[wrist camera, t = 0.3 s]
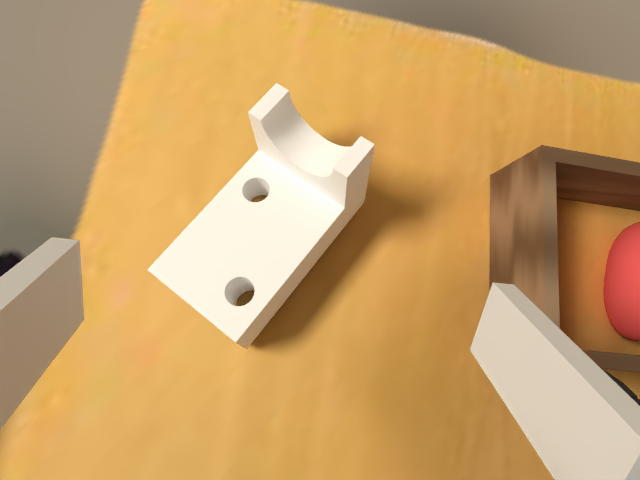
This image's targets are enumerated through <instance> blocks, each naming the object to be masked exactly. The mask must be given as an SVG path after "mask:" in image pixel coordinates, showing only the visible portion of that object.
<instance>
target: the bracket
mask: <svg viewBox="0 0 640 480" xmlns="http://www.w3.org/2000/svg"><path fill="white" fill-rule="evenodd" d="M248 114H249V117H250V121H251V125H252V128H253V132H254V135H255V139H256V142H257V146H258V151H257V152H256V153H255V154H254V155H253V156H252V158H251V159H250V160H249V161H248V162H247V163H246V164H245V165H244V166H243V167H242V168H241V169H240V170H239V172H238V173H237V174H236V175H235V176H234V177H233V178H232V179H231V180H230V181H229V182H228V183H227V184H226V186H225V187H224V188H223V189H222V190H221V191H220V192H219V193H218V194H217V195H216V196H215V197H214V199H213V200H212V201H211V202H210V203H209V204H208V205H207V206H206V207H205V208H204V209H203V210H202V211H201V213H200V214H199V215H198V216H197V217H196V218H195V219H194V220H193V221H192V222H191V223H190V224H189V225H188V227H187V228H186V229H185V230H184V231H183V232H182V233H181V234H180V235H179V236H178V237H177V238H176V239H175V241H174V242H173V243H172V244H171V245H170V246H169V247H168V248H167V249H166V250H165V251H164V252H163V253H162V255H161V256H160V257H159V258H158V259H157V260H156V261H155V262H154V263H153V264H152V265H151V266H150V267H149V269H148V271H149V272H151V273H152V274H153V275H154V276H156V277H157V278H158V279H159V280H160V281H162V282H163V283H164V284H165V285H166V286H168V287H169V288H170V289H171V290H173V291H174V292H175V293H176V294H177V295H179V296H180V297H181V298H182V299H183V300H185V301H186V302H187V303H188V304H190V305H191V306H192V307H193V308H194V309H196V310H197V311H198V312H199V313H200V314H202V315H203V316H204V317H205V318H207V319H208V320H209V321H210V322H211V323H213V324H214V325H215V326H216V327H217V328H219V329H220V330H221V331H222V332H224V333H225V334H226V335H227V336H228V337H230V338H231V339H232V340H233V341H234V342H236V343H237V344H239V345H241V346H242V347H244V348H246V349H247V348H248V347H249V346H250V345H251V343H252V342H253V341H254V340H255V338H256V337H257V336H258V335H259V333H260V332H261V331H262V330H263V328H264V327H265V326H266V325H267V323H268V322H269V321H270V320H271V318H272V317H273V316H274V315H275V313H276V312H277V311H278V310H279V308H280V307H281V306H282V305H283V303H284V302H285V301H286V300H287V298H288V297H289V296H290V295H291V293H292V292H293V291H294V290H295V288H296V287H297V286H298V285H299V283H300V282H301V281H302V280H303V278H304V277H305V276H306V274H307V273H308V272H309V271H310V269H311V268H312V267H313V266H314V264H315V263H316V262H317V261H318V259H319V258H320V257H321V256H322V254H323V253H324V252H325V251H326V249H327V248H328V247H329V246H330V244H331V243H332V242H333V241H334V239H335V238H336V237H337V236H338V234H339V233H340V232H341V231H342V229H343V228H344V227H345V226H346V224H347V223H348V222H349V221H350V219H351V218H352V217H353V216H354V214H355V213H356V212H357V211H358V209H359V208H360V207H361V206H362V204H363V203H364V200H365V195H366V189H367V184H368V178H369V173H370V167H371V162H372V156H373V151H374V145H375V144H373V143H371V142H370V141H368V140H367V139H365V138H363V137H362V136H360V137H359V139H358V140H357V141H356V142H355V143H354V145H353V146H351V147H345V146H340V145H337V144H334V143H332V142H330V141H328V140H326V139H325V138H323V137H322V136H320V135H319V134H318V133H317V132H315V131H314V130H313V129H312V128H311V127H310V126H309V125H308V124H307V123H306V122H305V121H304V120H303V118H302V117H301V116H300V114H299V113H298V111H297V110H296V108H295V106H294V105H293V102H292V100H291V97H290V94H289V91H288V90H287V89H285V88H284V87H282V86H281V85H279V84H277V83H276V84H275V85H274V86H273V87H272V88H271V89H270V90H269V91H268V92H267V93H266V94H265V95H264V96H263V98H262V99H261V100H260V101H259V102H258V103H257V104H256V105H255V106H254V107H253V108H252V109H251V110H250V111H249V112H248ZM260 195H265V196H267V197H266V198H265V199H264V200H262V201H260V202H251V201H252V199H253V198H255V197H257V196H260ZM246 291H255V292H254V296H253V298H252V300H251V301H250V302H249V303H247V304H246V305H243V306H237V300H238V298H239V296H240V295H241V294H242V293H244V292H246Z"/></svg>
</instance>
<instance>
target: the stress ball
mask: <svg viewBox="0 0 640 480" xmlns="http://www.w3.org/2000/svg"><path fill="white" fill-rule="evenodd" d="M604 303H605V308H606V312H607V315H608V317H609V319H610V322H611V324H612V325H613V326H614V328H615V329H616V331H617V332H618V333H619V334H621V335H622V336H624V337H626V338H628V339H631V340H635V341H640V222H638V223H635V224H633V225H631V226H629V227H627V228H625V229H624V230H623V231H622V232H621V233H620V234H619V236H618V237H617V238H616V239H615V241H614V243H613V245H612V247H611V249H610V252H609V256H608V260H607V265H606V272H605V278H604Z"/></svg>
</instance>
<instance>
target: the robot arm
mask: <svg viewBox="0 0 640 480" xmlns="http://www.w3.org/2000/svg"><path fill="white" fill-rule="evenodd" d="M83 320H84V309H83V292H82V275H81V258H80V242H79V240H72V239H62V238H51V239H49V240H48V241H47V242H45V243H44V244H43V245H41V246H40V247H39V248H37V249H36V250H35V251H34V252H32V253H31V254H30V255H28V256H27V257H26V258H24V259H23V260H22V261H21V262H19V263H18V264H17V265H15V266H14V267H13V268H12V269H10V270H9V271H8V272H6V273H5V274H4V275H2V276H1V277H0V429H1V428H2V427H3V425H4V424H5V423H6V422H7V420H8V419H9V418H10V416H11V415H12V414H13V412H14V411H15V410H16V408H17V407H18V406H19V404H20V403H21V402H22V400H23V399H24V398H25V397H26V395H27V394H28V393H29V391H30V390H31V389H32V387H33V386H34V385H35V383H36V382H37V381H38V379H39V378H40V377H41V375H42V374H43V373H44V372H45V370H46V369H47V368H48V366H49V365H50V364H51V362H52V361H53V360H54V358H55V357H56V356H57V354H58V353H59V352H60V350H61V349H62V348H63V347H64V345H65V344H66V343H67V341H68V340H69V339H70V337H71V336H72V335H73V333H74V332H75V331H76V329H77V328H78V327H79V325H80V324H81V323H82V322H83ZM470 351H471V352H472V354H473V355H474V357H475V358H476V360H477V361H478V363H479V365H480V366H481V368H482V369H483V371H484V372H485V374H486V375H487V377H488V378H489V380H490V381H491V383H492V384H493V386H494V388H495V389H496V391H497V392H498V394H499V395H500V397H501V398H502V400H503V401H504V403H505V404H506V406H507V408H508V409H509V411H510V412H511V414H512V415H513V417H514V418H515V420H516V421H517V423H518V424H519V426H520V427H521V429H522V431H523V432H524V434H525V435H526V437H527V438H528V440H529V441H530V443H531V444H532V446H533V447H534V449H535V451H536V452H537V454H538V455H539V457H540V458H541V460H542V461H543V463H544V464H545V466H546V467H547V469H548V470H549V472H550V474H551V475H552V477H553V478H554V480H640V400H639V399H638V398H637V396H636V395H635V394H634V393H633V392H632V391H631V390H630V389H629V388H628V387H627V386H626V385H625V384H624V383H623V382H621V381H620V380H618V379H617V378H615V377H614V376H612V375H611V374H609V373H608V372H606V371H605V370H603V369H601V368H600V367H599V366H598V365H597V364H596V363H595V362H594V361H593V360H592V359H591V358H589V357H588V356H587V355H586V354H585V353H584V352H583V351H582V350H581V349H580V348H579V347H578V346H577V345H576V344H575V343H574V342H573V341H572V340H571V339H570V338H569V337H568V336H567V335H566V334H565V333H564V332H563V331H562V330H560V329H559V328H558V327H557V326H556V325H555V324H554V323H553V322H552V321H551V320H550V319H549V318H548V317H547V316H546V315H545V314H544V313H543V312H542V311H541V310H540V309H539V308H538V307H537V306H536V305H535V304H534V303H532V302H531V301H530V300H529V299H528V298H527V297H526V296H525V295H524V294H523V293H522V292H521V291H520V290H519V289H518V288H517V287H516V286H515V285H514V284H504V283H494V282H493V283H492V286H491V289H490V292H489V295H488V298H487V301H486V304H485V307H484V310H483V313H482V316H481V319H480V322H479V325H478V328H477V331H476V334H475V337H474V340H473V342H472V345H471V348H470Z"/></svg>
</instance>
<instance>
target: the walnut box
mask: <svg viewBox="0 0 640 480" xmlns="http://www.w3.org/2000/svg"><path fill="white" fill-rule="evenodd" d="M557 198H562V199H568V200H574V201H581V202H587V203H593V204H600V205H606V206H612V207H619V208H625V209H631V210H638V211H640V163H638V162H633V161H627V160H622V159H616V158H611V157H605V156H599V155H594V154H588V153H583V152H577V151H572V150H566V149H560V148H555V147H549V146H544V145H541V146H540V147H538V148H536V149H534V150H533V151H531V152H529V153H528V154H526V155H524V156H523V157H521V158H519V159H517V160H516V161H514V162H512V163H511V164H509V165H507V166H505V167H504V168H502V169H500V170H499V171H497V172H495V173H494V174H492V175H490V289H491V286H492V283H493V282H494V283H504V284H514V285H515V286H516V287H517V288H518V289H519V290H520V291H521V292H522V293H523V294H524V295H525V296H526V297H527V298H528V299H529V300H530V301H531V302H532V303H534V304H535V305H536V306H537V307H538V308H539V309H540V310H541V311H542V312H543V313H544V314H545V315H546V316H547V317H548V318H549V319H550V320H551V321H552V322H553V323H554V324H555V325H556V326H557V327H558V328H559V329H560V314H559V274H558V235H557ZM582 351H583V352H584V353H585V354H586V355H587V356H588V357H589V358H591V359H592V360H593V361H594V362H595V363H596V364H597V365H598V366H599V367H600V368H601V369H611V370H622V371H634V372H640V355H629V354H619V353H608V352H597V351H587V350H582Z"/></svg>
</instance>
